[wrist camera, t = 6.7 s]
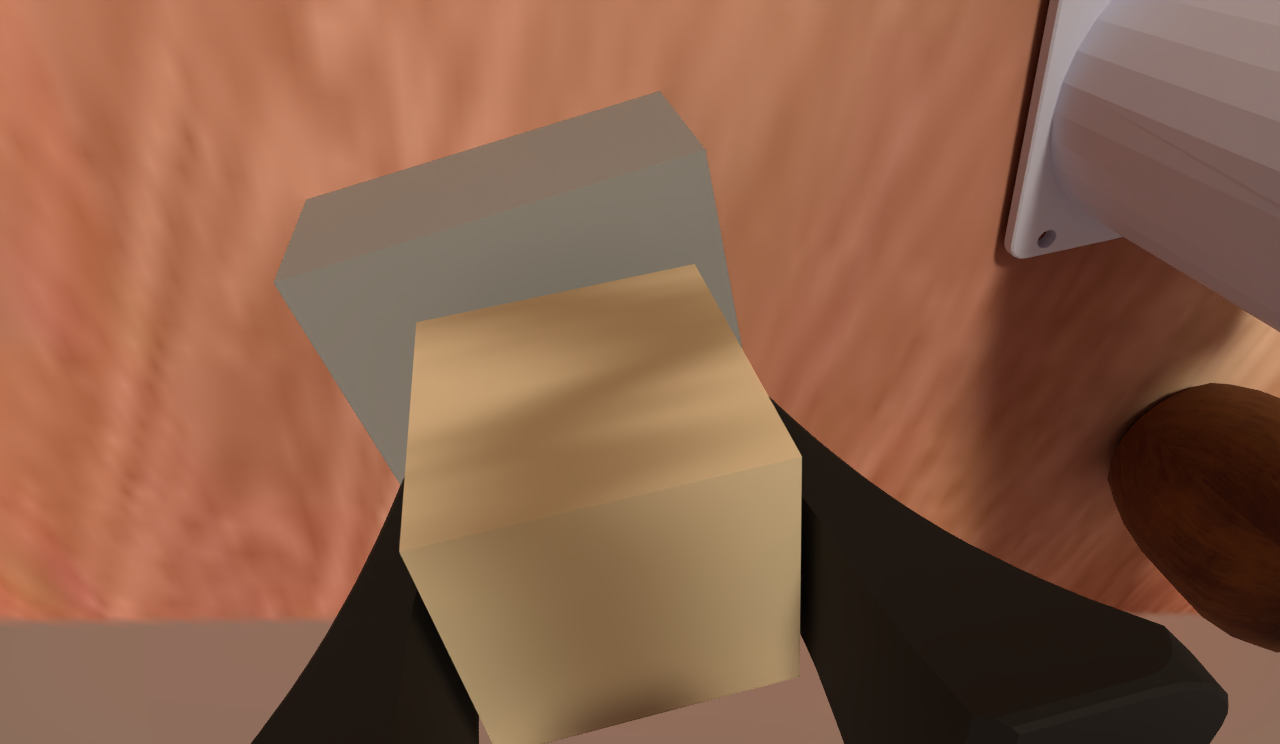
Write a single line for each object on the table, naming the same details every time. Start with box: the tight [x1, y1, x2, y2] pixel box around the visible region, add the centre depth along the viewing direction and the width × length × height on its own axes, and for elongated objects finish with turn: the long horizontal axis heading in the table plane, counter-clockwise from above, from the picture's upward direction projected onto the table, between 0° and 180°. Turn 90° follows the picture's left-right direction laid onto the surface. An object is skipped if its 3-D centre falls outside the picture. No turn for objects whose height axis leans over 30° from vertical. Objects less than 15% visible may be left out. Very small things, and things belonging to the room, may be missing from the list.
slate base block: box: [274, 91, 742, 485], centre depth 17 cm, size 8×8×4 cm
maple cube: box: [399, 264, 802, 744], centre depth 12 cm, size 5×5×5 cm
